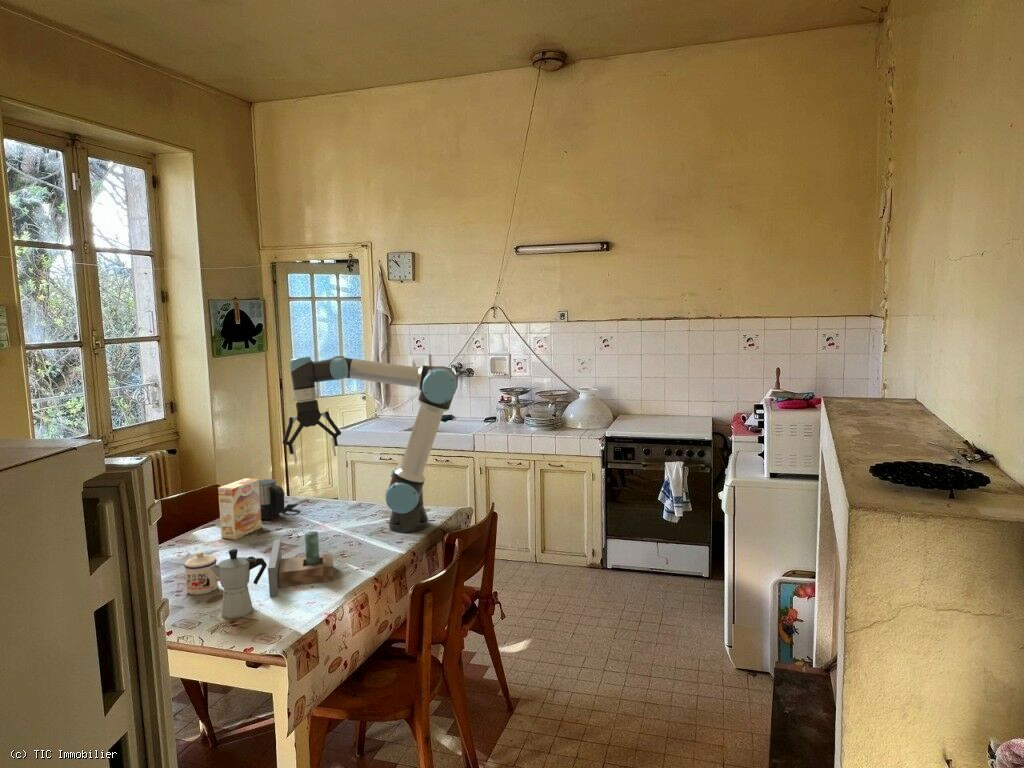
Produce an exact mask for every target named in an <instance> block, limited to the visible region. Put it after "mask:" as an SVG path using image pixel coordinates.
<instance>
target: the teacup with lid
mask: <svg viewBox="0 0 1024 768" xmlns="http://www.w3.org/2000/svg"><path fill="white" fill-rule="evenodd" d="M217 562H218V560H217V558H216V556H214V555H210V554H205V553H204V552H203V551H198V552H197V551H196V553H195V555H194V556H193V557H190V558H188V559H187V560H186V561H185V562H184V564H183V567H184V571H185V572H184V573H185V584H186V592H187V593H188V595H193V594H194V595H196V596H197V595H199V594H200V595H205V594H208V593H212V592H213V590H214V591H215V590H216V589H218V587H219V583H218V582H220V580H219V578H218V577H217V576H216V574H215V573H214V572H213V570H211V569H209V568H211V567H213V566H216V565H217ZM194 595H193V596H194Z"/></svg>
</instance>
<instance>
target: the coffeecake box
mask: <svg viewBox="0 0 1024 768" xmlns="http://www.w3.org/2000/svg"><path fill="white" fill-rule="evenodd" d="M259 480H260V479H259V478H249V477H248V478H246V477H245V478H242V479H239V480H236V481H234V482H231V483H228V484H224V485H222V486H218V487H217V491H218V492H217V493H218V505H219V506H218V507H219V520H220V521H219V523H220V535H221V539H228V540H234V541H235V540H238V539H240V538H242V537H245V536H247V535H248V533H249V534H251V533H252V532H255V531H258V530H259V529H261V527H263V525H262V520H261V508H260V492H259ZM254 530H255V531H254ZM250 532H251V533H250ZM246 534H247V535H246ZM244 535H245V536H244Z"/></svg>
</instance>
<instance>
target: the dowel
mask: <svg viewBox="0 0 1024 768" xmlns="http://www.w3.org/2000/svg"><path fill="white" fill-rule="evenodd" d="M318 532H319V531H316V530H313V531H312V530H311V531H307V532H305V533H304V544H305V545H304V546H305V556H306V564H307V566H310V565H319V564H320V560H319V555H320V545H319V544H320V543H319V533H318Z"/></svg>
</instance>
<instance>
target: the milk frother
mask: <svg viewBox="0 0 1024 768" xmlns="http://www.w3.org/2000/svg"><path fill="white" fill-rule="evenodd" d="M259 492H260V508H261V519H265V520H270V519H271V518H272V519H275V518H278V517H279V516H280V514H281V513H285V512H286V511H289V510H290V511H291V510H293V509H295V508H296V507H297V506H298V503H290V504H289V503H288V504H287V505H286V506H285V491H284V489H283V488H282V486H280V485H277V479H273V478H268V479H259ZM277 516H278V517H277ZM274 517H275V518H274Z"/></svg>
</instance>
